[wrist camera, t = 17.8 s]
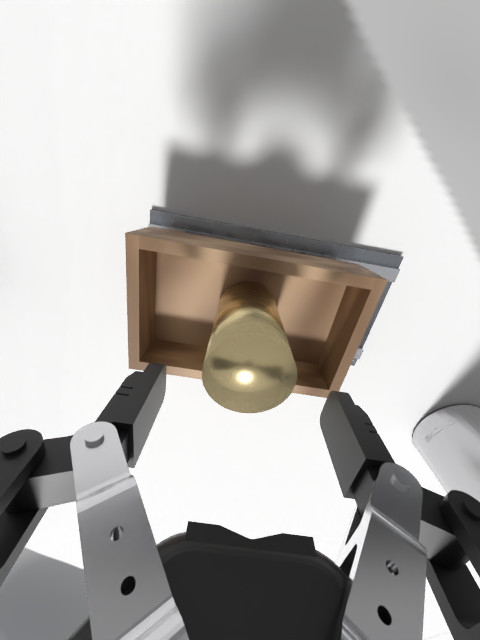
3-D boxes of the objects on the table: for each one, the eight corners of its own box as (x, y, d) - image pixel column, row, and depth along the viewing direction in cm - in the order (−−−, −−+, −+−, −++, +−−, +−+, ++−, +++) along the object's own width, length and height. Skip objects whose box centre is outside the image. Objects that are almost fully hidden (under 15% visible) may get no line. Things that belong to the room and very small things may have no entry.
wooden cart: (348, 258, 22) (388, 280, 16) (314, 354, 26) (335, 399, 20) (159, 224, 21) (125, 233, 15) (156, 329, 25) (129, 368, 19)
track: (401, 255, 22) (405, 257, 22) (352, 363, 28) (355, 367, 27) (151, 209, 21) (148, 209, 21) (149, 331, 26) (147, 334, 26)
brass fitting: (282, 286, 20) (309, 344, 12) (268, 338, 22) (283, 418, 14) (222, 276, 20) (207, 327, 11) (214, 329, 22) (197, 406, 13)
